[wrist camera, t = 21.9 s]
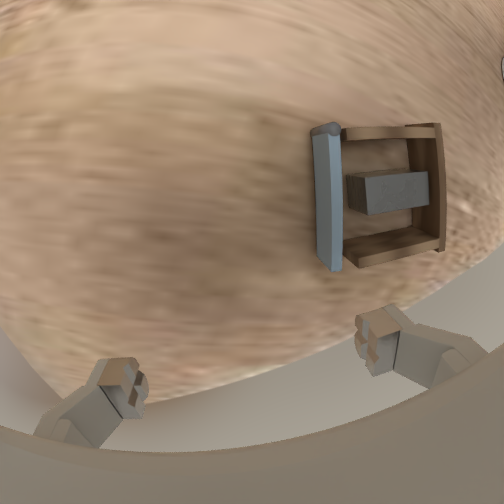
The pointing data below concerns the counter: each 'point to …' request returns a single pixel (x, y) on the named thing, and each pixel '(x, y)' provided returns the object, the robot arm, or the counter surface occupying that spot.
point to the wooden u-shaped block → (423, 217)
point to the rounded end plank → (328, 194)
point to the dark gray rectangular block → (387, 190)
